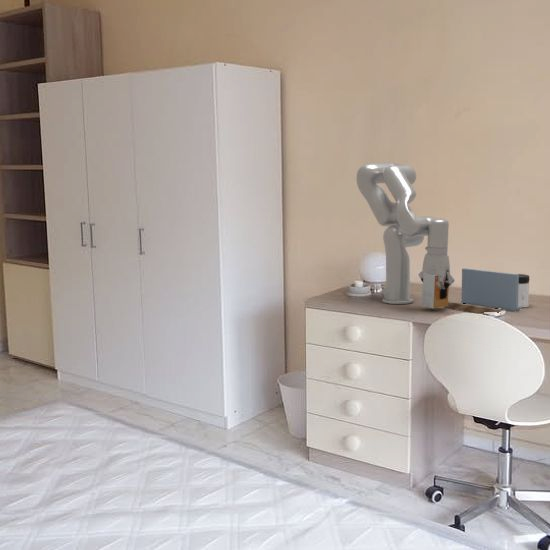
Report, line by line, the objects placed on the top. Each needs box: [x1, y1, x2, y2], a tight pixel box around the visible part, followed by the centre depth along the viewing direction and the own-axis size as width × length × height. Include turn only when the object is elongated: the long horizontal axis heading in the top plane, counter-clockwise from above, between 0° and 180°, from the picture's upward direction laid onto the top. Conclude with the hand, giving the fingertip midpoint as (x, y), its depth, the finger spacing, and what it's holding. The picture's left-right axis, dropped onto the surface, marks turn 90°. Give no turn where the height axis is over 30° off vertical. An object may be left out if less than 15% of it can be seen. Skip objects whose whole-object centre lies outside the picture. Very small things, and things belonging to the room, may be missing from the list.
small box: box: [421, 273, 450, 309], centre depth 276 cm, size 8×6×13 cm
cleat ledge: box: [445, 300, 502, 314], centre depth 272 cm, size 24×2×2 cm, turn 41°
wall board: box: [460, 267, 521, 312], centre depth 279 cm, size 24×3×14 cm, turn 41°
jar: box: [518, 273, 530, 309], centre depth 279 cm, size 9×8×12 cm
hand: (435, 296), depth 276 cm, fingers closed on small box, 6 cm apart
